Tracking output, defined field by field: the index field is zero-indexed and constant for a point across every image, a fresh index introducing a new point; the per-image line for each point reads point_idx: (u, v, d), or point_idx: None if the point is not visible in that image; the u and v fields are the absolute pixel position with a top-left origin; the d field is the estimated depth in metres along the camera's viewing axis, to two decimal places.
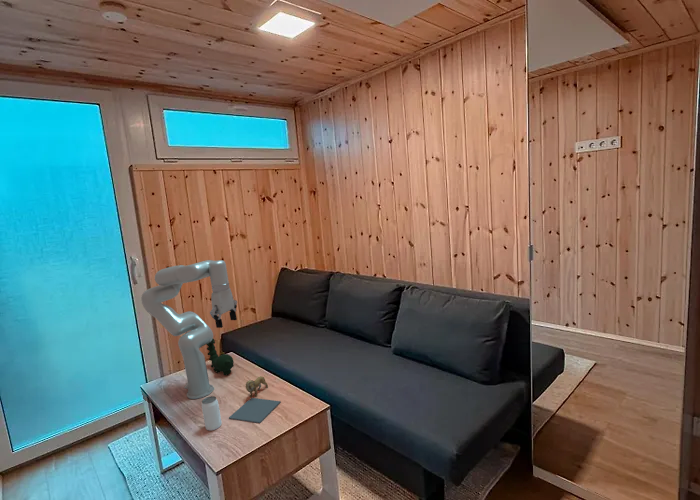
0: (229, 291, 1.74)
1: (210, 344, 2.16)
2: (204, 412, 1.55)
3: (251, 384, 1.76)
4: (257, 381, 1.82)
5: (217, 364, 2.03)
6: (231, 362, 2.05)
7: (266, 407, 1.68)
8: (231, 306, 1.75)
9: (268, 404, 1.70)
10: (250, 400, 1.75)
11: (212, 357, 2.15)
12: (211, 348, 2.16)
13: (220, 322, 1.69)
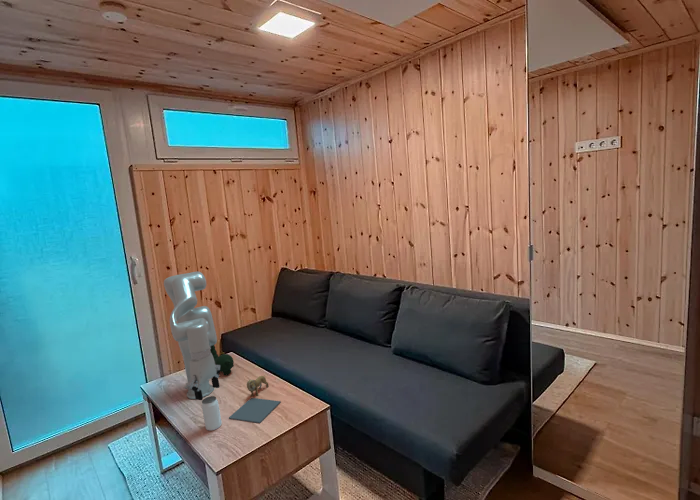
0: (210, 357, 1.56)
1: None
2: (204, 412, 1.55)
3: (252, 383, 1.76)
4: (258, 380, 1.82)
5: (217, 364, 2.03)
6: (231, 362, 2.05)
7: (266, 407, 1.68)
8: (213, 373, 1.57)
9: (268, 404, 1.70)
10: (250, 400, 1.75)
11: None
12: (211, 348, 2.16)
13: (200, 394, 1.51)
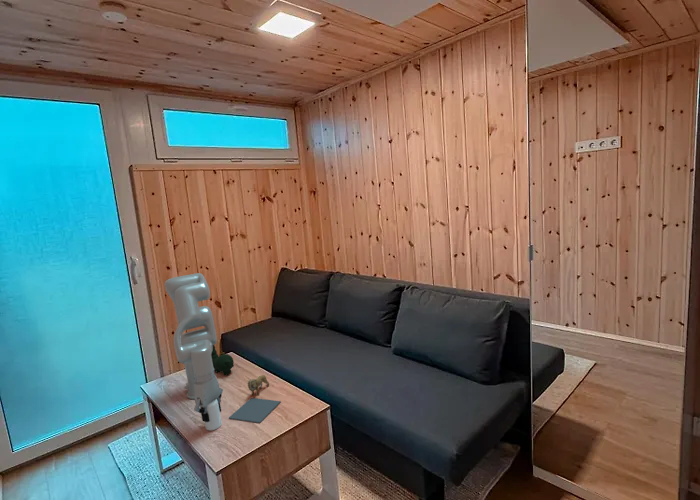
0: (214, 379, 1.57)
1: None
2: None
3: (253, 383, 1.77)
4: (259, 380, 1.83)
5: (217, 364, 2.03)
6: (231, 362, 2.05)
7: (266, 407, 1.68)
8: (217, 395, 1.58)
9: (268, 404, 1.70)
10: (250, 400, 1.75)
11: (212, 357, 2.15)
12: None
13: (206, 416, 1.54)
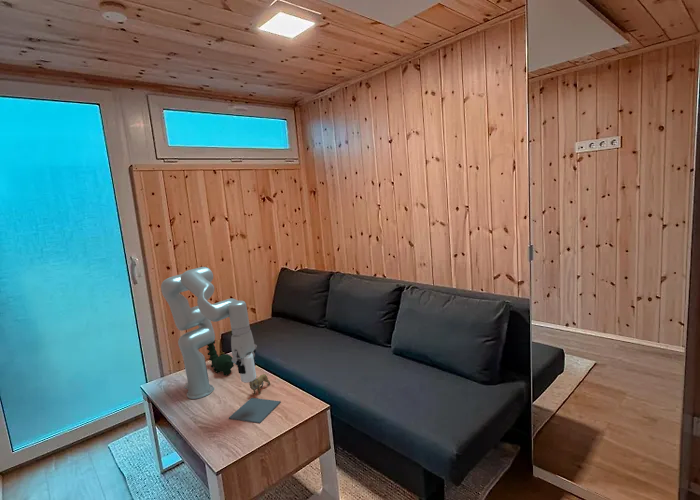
0: (250, 333, 1.63)
1: (210, 344, 2.16)
2: None
3: (255, 382, 1.78)
4: (260, 379, 1.84)
5: (217, 364, 2.03)
6: (231, 362, 2.05)
7: (266, 407, 1.68)
8: (252, 349, 1.64)
9: (268, 404, 1.70)
10: (250, 400, 1.75)
11: (212, 357, 2.15)
12: (211, 348, 2.16)
13: (243, 368, 1.60)
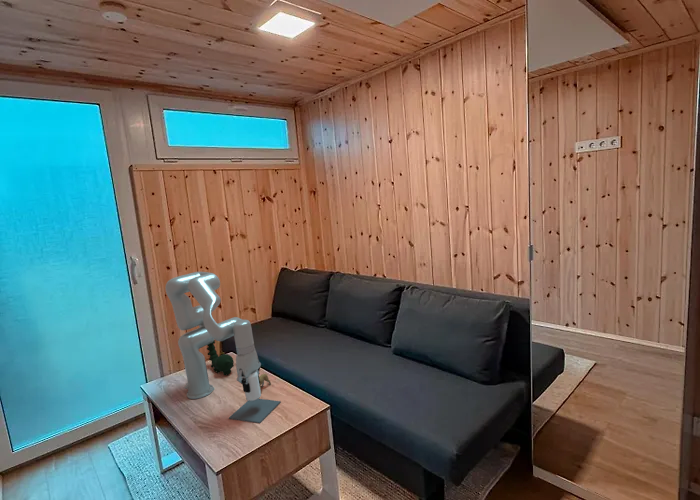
0: (254, 352, 1.65)
1: (210, 344, 2.16)
2: None
3: None
4: (261, 378, 1.84)
5: (217, 364, 2.03)
6: (231, 362, 2.05)
7: (266, 407, 1.68)
8: (256, 367, 1.66)
9: (268, 404, 1.70)
10: None
11: (212, 357, 2.15)
12: (211, 348, 2.16)
13: (248, 387, 1.61)
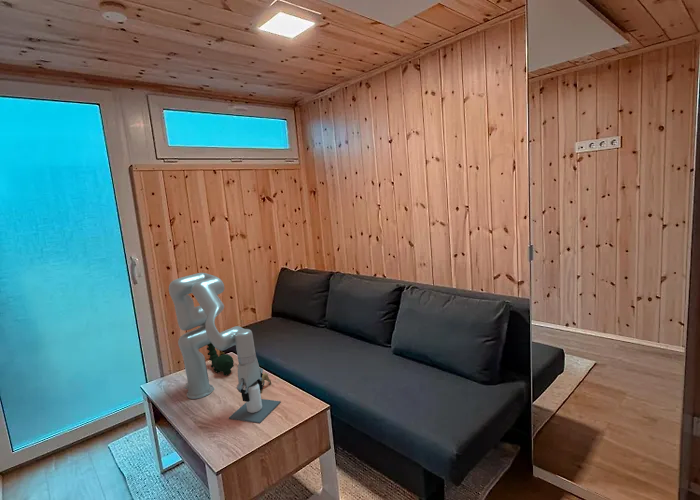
0: (255, 361, 1.66)
1: (210, 344, 2.16)
2: None
3: None
4: None
5: (217, 364, 2.03)
6: (231, 362, 2.05)
7: (266, 407, 1.68)
8: (258, 376, 1.67)
9: (268, 404, 1.70)
10: None
11: (212, 357, 2.15)
12: (211, 348, 2.16)
13: (247, 396, 1.61)
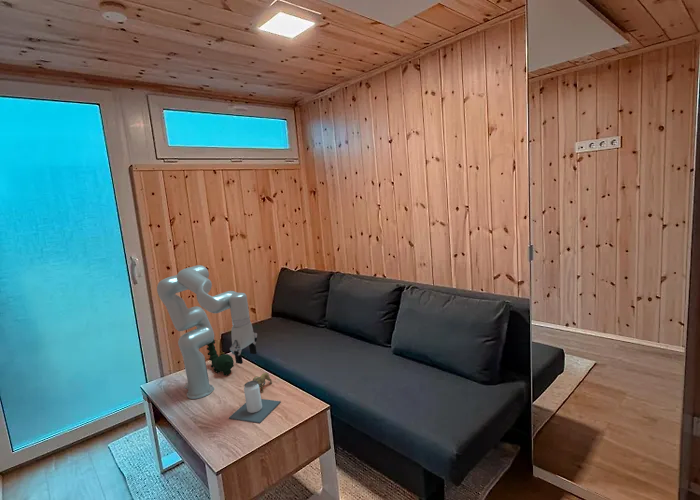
0: (250, 325, 1.67)
1: (210, 344, 2.16)
2: (247, 395, 1.63)
3: (258, 380, 1.79)
4: (262, 377, 1.85)
5: (217, 364, 2.03)
6: (231, 362, 2.05)
7: (266, 407, 1.68)
8: (251, 340, 1.68)
9: (268, 404, 1.70)
10: None
11: (212, 357, 2.15)
12: (211, 348, 2.16)
13: (240, 358, 1.62)
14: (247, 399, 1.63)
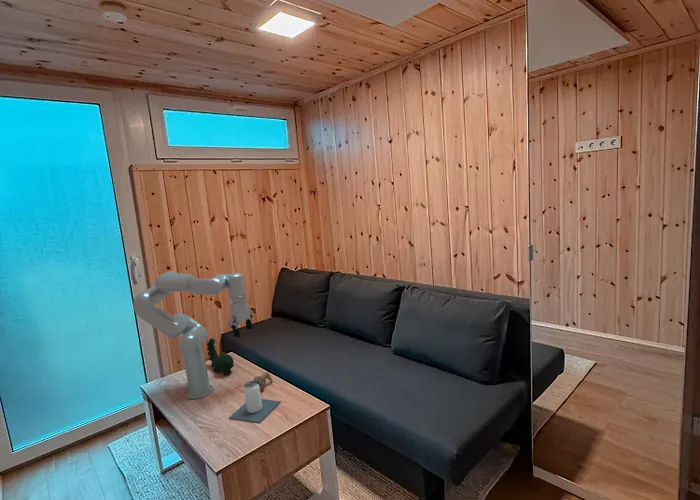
0: (246, 302, 1.85)
1: (210, 344, 2.16)
2: (247, 395, 1.63)
3: (259, 379, 1.80)
4: (263, 376, 1.86)
5: (217, 364, 2.03)
6: (231, 362, 2.05)
7: (266, 407, 1.68)
8: (248, 316, 1.86)
9: (268, 404, 1.70)
10: None
11: (212, 357, 2.15)
12: (211, 348, 2.16)
13: (237, 331, 1.80)
14: (247, 399, 1.63)
